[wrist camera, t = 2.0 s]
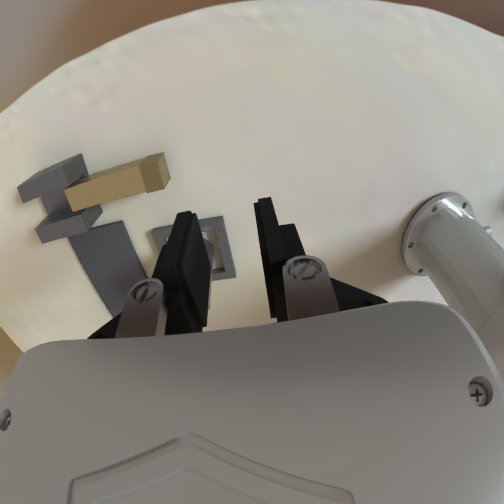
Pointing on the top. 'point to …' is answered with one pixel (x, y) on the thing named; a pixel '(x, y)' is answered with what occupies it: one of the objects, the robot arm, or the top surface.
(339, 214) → the top surface
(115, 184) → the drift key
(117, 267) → the mat
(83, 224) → the socket block
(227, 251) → the socket collar
